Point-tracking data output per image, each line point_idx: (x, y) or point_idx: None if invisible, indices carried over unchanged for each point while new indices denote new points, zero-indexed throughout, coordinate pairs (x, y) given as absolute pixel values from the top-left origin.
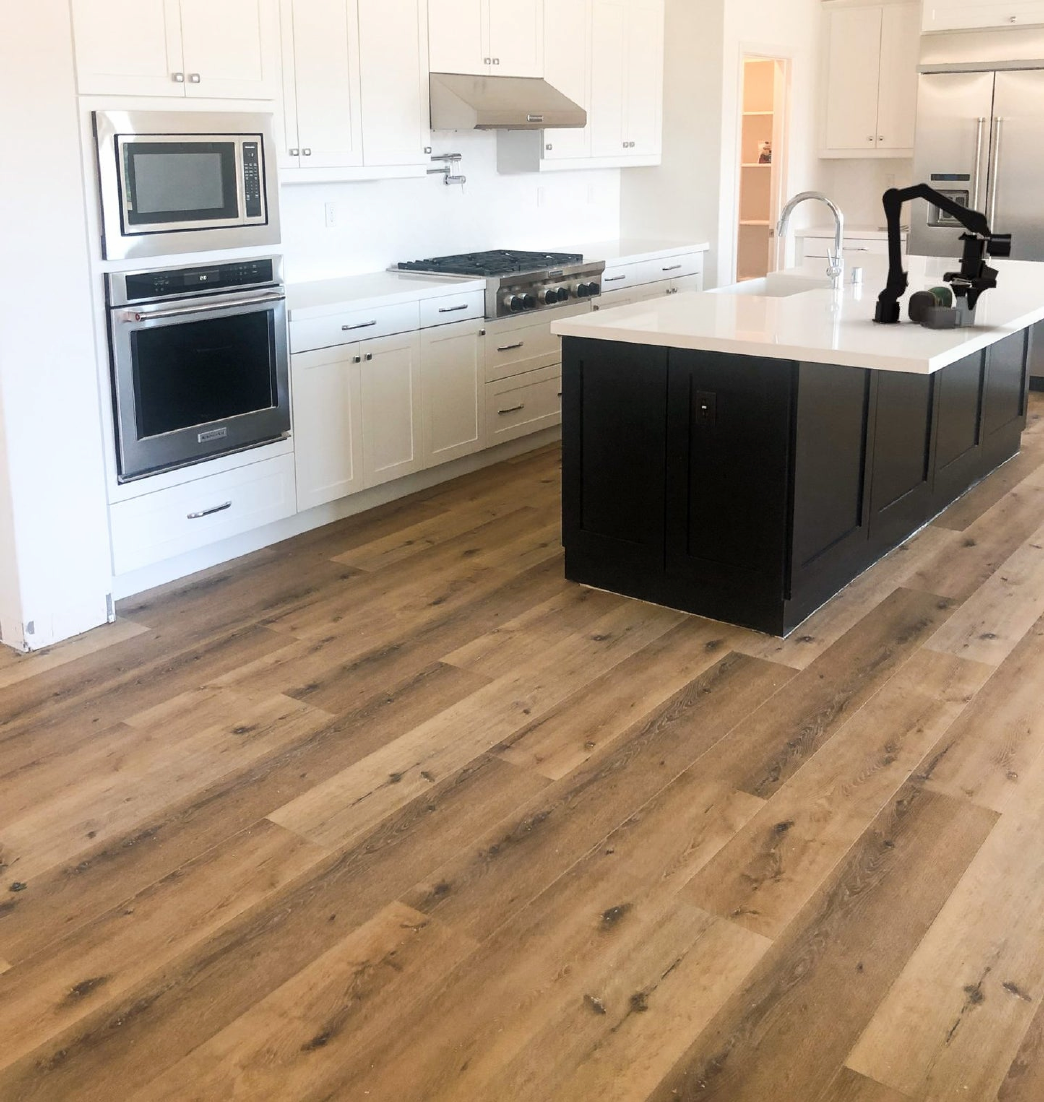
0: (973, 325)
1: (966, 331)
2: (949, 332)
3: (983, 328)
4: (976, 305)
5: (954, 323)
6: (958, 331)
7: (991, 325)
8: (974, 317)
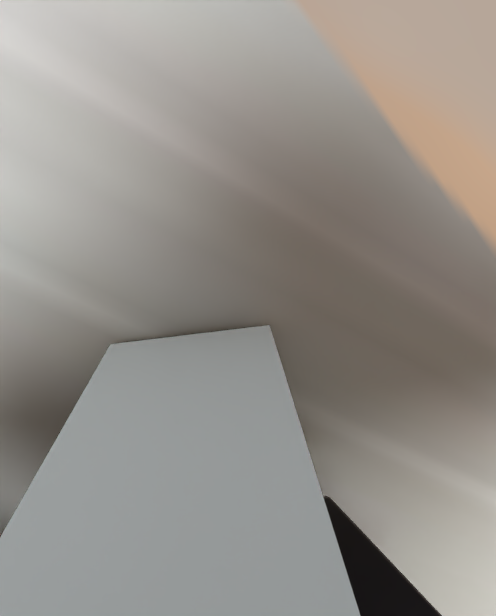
0: (269, 332)
1: (475, 488)
2: (472, 607)
3: (370, 265)
4: (316, 484)
5: None
6: (454, 540)
7: (173, 29)
8: (282, 374)
